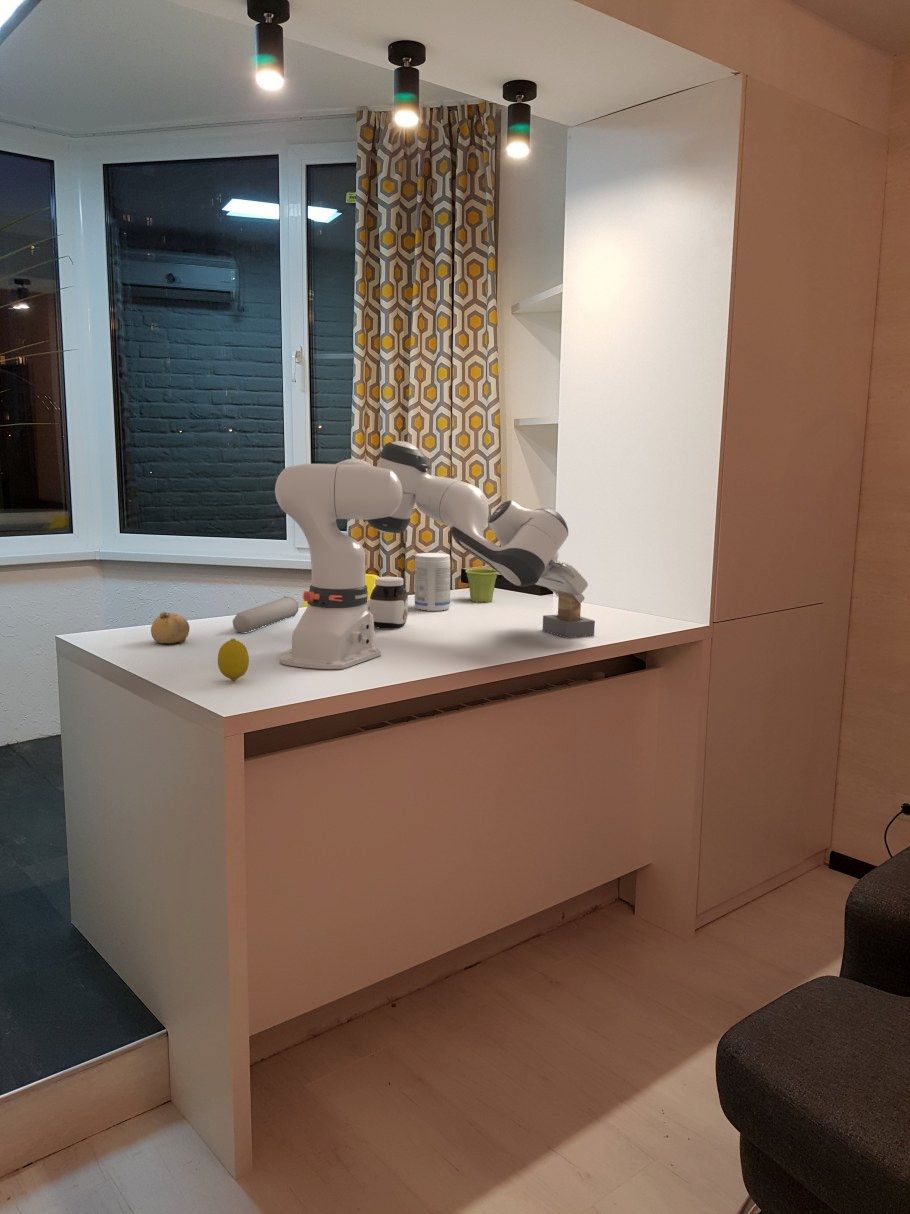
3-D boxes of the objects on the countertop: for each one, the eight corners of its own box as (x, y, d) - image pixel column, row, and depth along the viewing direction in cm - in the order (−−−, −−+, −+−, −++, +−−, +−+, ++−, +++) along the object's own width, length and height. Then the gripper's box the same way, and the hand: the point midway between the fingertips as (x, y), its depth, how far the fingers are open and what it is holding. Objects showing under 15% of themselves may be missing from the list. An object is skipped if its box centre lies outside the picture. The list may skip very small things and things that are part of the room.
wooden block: (569, 630, 216) (571, 591, 214) (557, 626, 220) (558, 587, 218) (579, 629, 217) (581, 590, 216) (567, 626, 222) (569, 587, 220)
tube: (251, 618, 206) (301, 601, 230) (231, 609, 208) (283, 592, 231) (245, 640, 208) (295, 620, 231) (225, 631, 209) (277, 612, 232)
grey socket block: (566, 637, 213) (566, 622, 212) (542, 629, 221) (543, 615, 221) (594, 635, 216) (594, 620, 216) (569, 627, 225) (570, 613, 224)
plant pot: (487, 605, 254) (488, 574, 253) (458, 601, 259) (459, 571, 258) (503, 600, 262) (504, 570, 261) (474, 597, 267) (475, 567, 266)
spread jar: (394, 631, 215) (394, 582, 213) (351, 626, 219) (351, 578, 217) (415, 623, 226) (415, 576, 224) (374, 618, 230) (374, 572, 228)
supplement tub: (448, 606, 251) (450, 552, 249) (450, 612, 242) (452, 557, 239) (413, 605, 251) (414, 552, 248) (414, 611, 241) (415, 556, 239)
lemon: (211, 683, 165) (210, 639, 164) (229, 676, 170) (229, 634, 169) (238, 686, 163) (237, 642, 162) (255, 679, 168) (254, 637, 167)
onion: (156, 639, 201) (155, 607, 200) (193, 639, 202) (192, 607, 200) (147, 647, 193) (146, 614, 192) (185, 647, 194) (185, 614, 193)
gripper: (573, 553, 203) (606, 594, 209) (524, 544, 221) (556, 582, 227) (555, 574, 202) (589, 615, 208) (507, 563, 220) (540, 601, 226)
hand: (571, 598), depth 218 cm, fingers open, 6 cm apart
